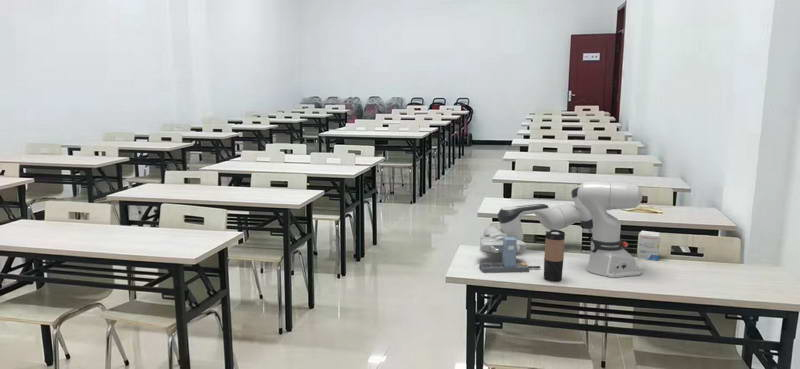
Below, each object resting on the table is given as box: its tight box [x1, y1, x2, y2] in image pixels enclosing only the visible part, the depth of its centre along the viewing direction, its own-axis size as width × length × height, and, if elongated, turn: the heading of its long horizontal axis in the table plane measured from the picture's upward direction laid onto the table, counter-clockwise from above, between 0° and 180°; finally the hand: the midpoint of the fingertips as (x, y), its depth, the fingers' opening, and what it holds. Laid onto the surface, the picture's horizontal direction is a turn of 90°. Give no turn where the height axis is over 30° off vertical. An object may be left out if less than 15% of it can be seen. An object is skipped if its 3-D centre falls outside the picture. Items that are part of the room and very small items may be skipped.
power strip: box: [478, 261, 541, 274], centre depth 255 cm, size 26×7×2 cm, turn 96°
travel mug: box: [543, 229, 566, 283], centre depth 242 cm, size 8×8×20 cm
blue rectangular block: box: [501, 237, 517, 267], centre depth 253 cm, size 5×5×14 cm
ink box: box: [638, 230, 661, 261], centre depth 274 cm, size 9×8×12 cm
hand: (507, 251), depth 255 cm, fingers open, 8 cm apart
